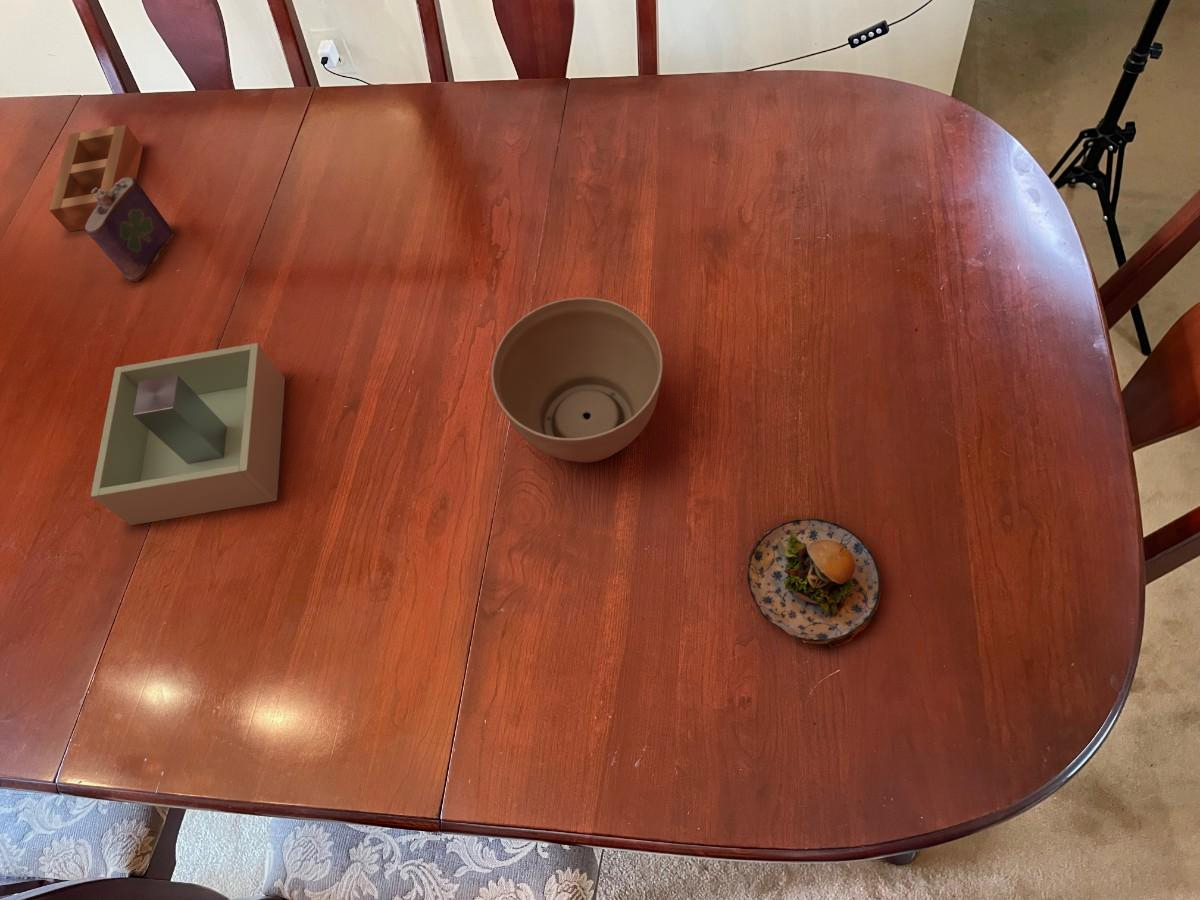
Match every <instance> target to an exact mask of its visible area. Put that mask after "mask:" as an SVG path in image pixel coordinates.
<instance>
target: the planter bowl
mask: <svg viewBox="0 0 1200 900" xmlns="http://www.w3.org/2000/svg"><path fill="white" fill-rule="evenodd" d="M661 348H662V347H661V346H660V343H659V341H658V339H657V336H656V335H655V333H654V331H653V329H652V328H651V327H650V325H648V323H647V322H646V321H645V320H644V319H643V318H642V317H640V316H639V315H638V314H637V313H635V312H634V311H633V310H631V309H630V308H628V307H626V306H623V305H622V304H619V303H617V302H614V301H612V300H608V299H603V298H597V297H583V296H581V297H570V298H563V299H559V300H554V301H551V302H547V303H546V304H544V305H541V306H538V307H537V308H535V309H533V310H532V311H529V312H528V313H527V314H525V315H524V316H522V317H521V318H519V319H518V320H517V321H516V322H515V323H514V324H513V325H512V326H511V327H510V328H509V329H508V330H507V331H506V332H505V334H504V335H503V336H502V338H501V340H500V342H499V343H498V345H497V347H496V349H495V352H494V355H493V358H492V360H491V361H492V362H491V370H490V376H491V377H490V378H491V379H490V381H491V387H492V391H493V394H494V397H495V399H496V401H497V404H498V405H499V408H500V409H501V410H502V412H503V413H504V415H505V416H506V417H507V419H508V420H509V422H510V424H511V426H512V427H513V428H514V429H515V431H516V432H517V433H518V434H519V435H520V436H521V437H522V438H523V439H524V440H525V441H526V442H527V443H528V444H530V445H531V446H532V447H534V448H535V449H537V450H538V451H540V452H542V453H544V454H545V455H548V456H550V457H553V458H556V459H559V460H563V461H569V462H576V463H596V462H599V461H602V460H605V459H608V458H610V457H611V456H613V455H615V454H616V453H618V452H620V451H621V450H623V449H624V448H626V447H627V446H628V445H630V444H631V443H632V442H633V441H634V440H635V439H636V438H637V437H638V436H639V435H640V434H641V433H642V431H643V430H644V429H645V428H646V426H647V425H648V422H650V419H651V417H652V415H653V413H654V411H655V408H656V405H657V402H658V398H659V394H660V388H661V383H662V379H663V371H664V360H663V354H662V353H663V352H662V349H661ZM585 414H589V418H585V416H584V415H585Z"/></svg>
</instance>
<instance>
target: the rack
mask: <svg viewBox="0 0 1200 900" xmlns="http://www.w3.org/2000/svg"><path fill="white" fill-rule="evenodd" d="M143 148H144V147H143V145H142V144H141V142H139V140H138V139H137V137H136V136H135V134H134V133H133V132H132V130H131V129H130V127H129V126H128V125H127V123H125V124H121V125H115V126H109V127H103V128H98V129H92V130H87V131H82V132H75V133H69V134H68V137H67V142H66V144H65V148H64V152H63V156H62V159H61V163H60V167H59V171H58V175H57V178H56V181H55V185H54V190H53V193H52V197H51V200H50V204H49V208H48V211H49V212H50V213H51V214H52V215H53V216H54V217H55V219H56V220H57V221H58V222H59V223H60V224H61V225H62V226H63V227H64V229H65V230H66V231H67V232H68V233H72V232H78V231H83V230H85V225H86V223H87V221H88V219H89V218H90V216H91V214H92V212H93V211H94V209H95V208H96V206H97V204H98V203H97V198H96V197H95V196H94V195H95V193H96V192H97V191H98V190H99V189H100V188H101V190H102V191H104V192H106V191H109V190H110V189H111V188H113V186H114V184H115V183H116V182H118V181H119V180H120V179H122V178H128V177H129V178H134V179H136V180H137V179H138V178H137V177H138V174H139V170H140V169H139V168H140V164H141V158H142V155H143V154H142V153H143ZM94 188H98V189H97V190H96V191H95V193H91V191H92V190H93V189H94ZM90 195H92V197H90Z"/></svg>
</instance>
